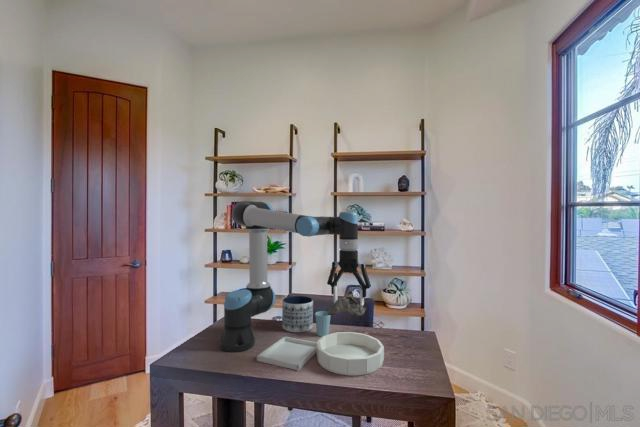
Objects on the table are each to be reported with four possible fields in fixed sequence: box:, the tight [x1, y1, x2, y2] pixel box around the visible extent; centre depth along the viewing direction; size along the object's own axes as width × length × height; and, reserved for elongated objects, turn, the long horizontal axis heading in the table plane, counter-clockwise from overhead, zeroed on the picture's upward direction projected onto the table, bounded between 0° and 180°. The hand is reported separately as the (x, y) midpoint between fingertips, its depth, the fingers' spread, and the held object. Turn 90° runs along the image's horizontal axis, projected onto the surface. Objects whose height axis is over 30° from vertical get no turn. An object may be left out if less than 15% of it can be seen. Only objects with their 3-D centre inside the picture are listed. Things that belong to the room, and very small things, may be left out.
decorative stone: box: [326, 290, 368, 317], centre depth 126 cm, size 16×9×10 cm, turn 83°
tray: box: [256, 336, 317, 371], centre depth 130 cm, size 19×22×2 cm
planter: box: [281, 295, 314, 333], centre depth 162 cm, size 16×16×14 cm
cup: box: [314, 310, 332, 338], centre depth 152 cm, size 8×8×10 cm
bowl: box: [316, 331, 385, 377], centre depth 126 cm, size 26×26×6 cm
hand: (348, 303), depth 126 cm, fingers closed on decorative stone, 11 cm apart
